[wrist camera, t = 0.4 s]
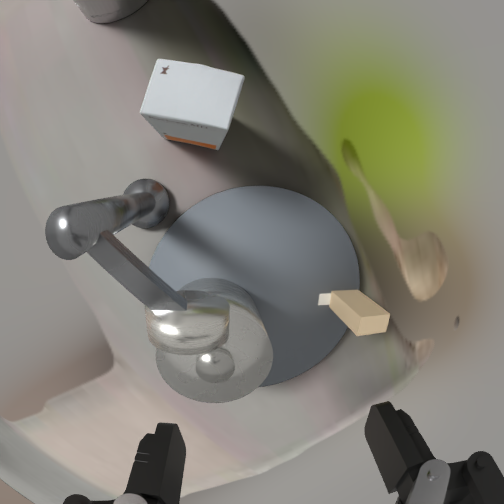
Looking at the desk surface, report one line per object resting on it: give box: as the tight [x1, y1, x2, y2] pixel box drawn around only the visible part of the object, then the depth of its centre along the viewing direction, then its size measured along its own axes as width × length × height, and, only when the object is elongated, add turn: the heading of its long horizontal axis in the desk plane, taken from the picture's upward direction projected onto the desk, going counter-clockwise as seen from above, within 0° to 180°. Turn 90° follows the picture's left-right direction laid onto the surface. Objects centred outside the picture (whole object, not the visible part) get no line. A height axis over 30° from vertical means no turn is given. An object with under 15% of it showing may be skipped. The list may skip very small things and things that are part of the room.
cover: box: [156, 278, 273, 403], centre depth 26 cm, size 10×10×8 cm
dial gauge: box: [45, 179, 230, 355], centre depth 20 cm, size 8×10×18 cm
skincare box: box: [140, 59, 245, 150], centre depth 21 cm, size 6×4×12 cm
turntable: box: [149, 186, 390, 387], centre depth 28 cm, size 24×24×9 cm
